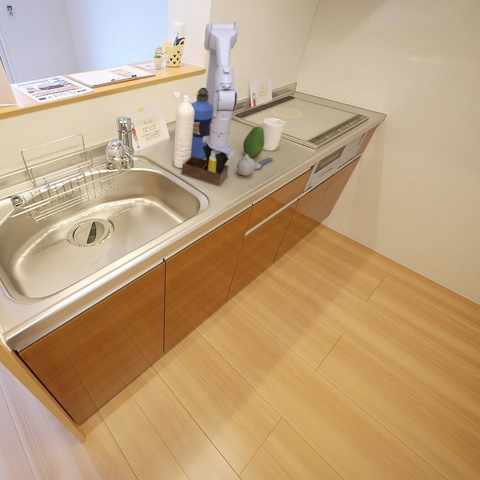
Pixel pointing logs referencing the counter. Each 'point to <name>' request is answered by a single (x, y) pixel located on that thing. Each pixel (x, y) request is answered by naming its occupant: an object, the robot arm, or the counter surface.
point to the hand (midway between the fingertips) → (214, 168)
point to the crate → (202, 171)
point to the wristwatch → (260, 163)
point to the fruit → (254, 142)
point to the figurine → (246, 165)
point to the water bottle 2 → (201, 123)
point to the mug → (272, 133)
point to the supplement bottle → (213, 161)
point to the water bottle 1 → (183, 131)
